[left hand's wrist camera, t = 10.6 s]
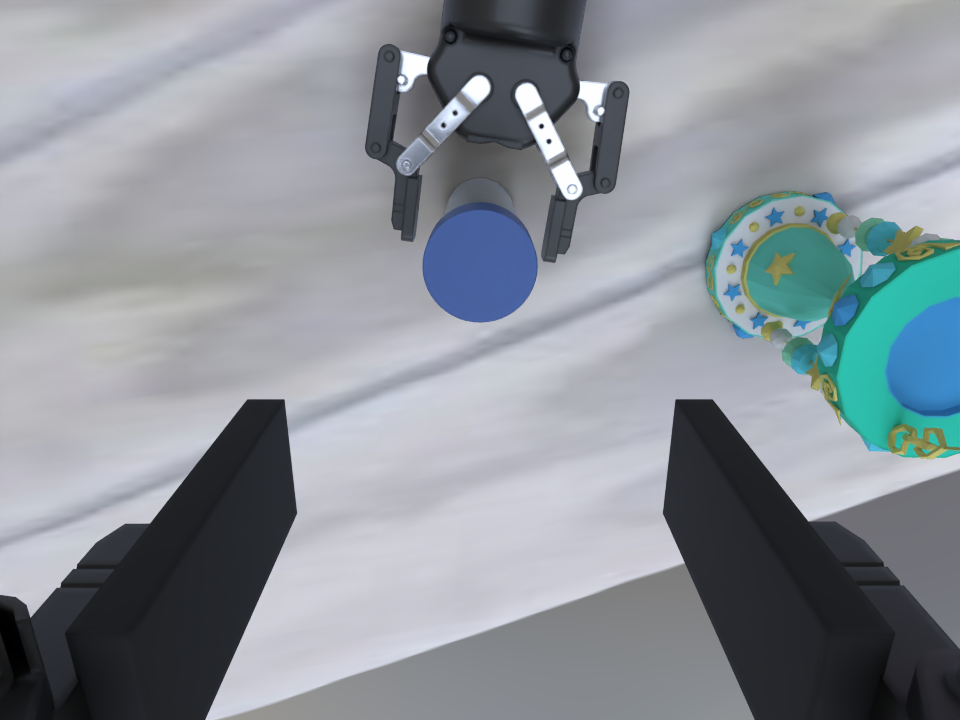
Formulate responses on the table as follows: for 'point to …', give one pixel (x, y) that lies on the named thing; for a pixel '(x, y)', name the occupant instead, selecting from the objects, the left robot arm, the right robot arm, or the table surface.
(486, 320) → the lid
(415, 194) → the right robot arm
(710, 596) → the left robot arm
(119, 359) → the table surface
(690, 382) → the table surface
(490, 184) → the grey metal cylinder
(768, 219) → the decorative hourglass
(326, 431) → the table surface
